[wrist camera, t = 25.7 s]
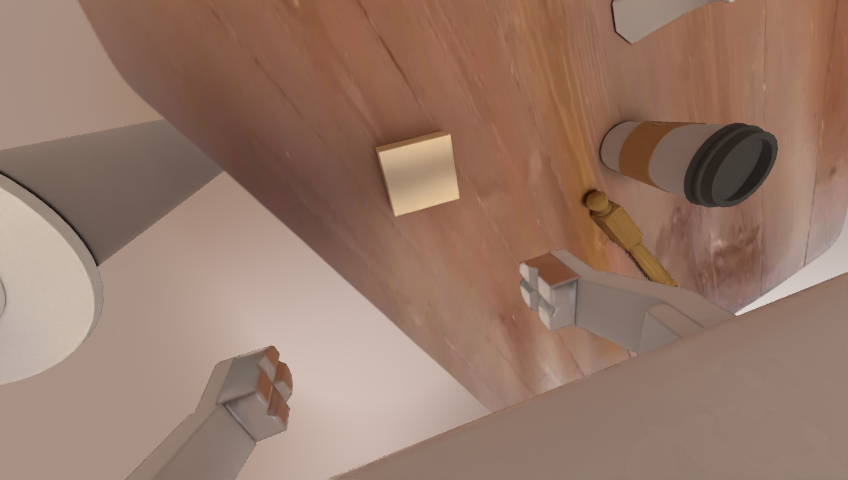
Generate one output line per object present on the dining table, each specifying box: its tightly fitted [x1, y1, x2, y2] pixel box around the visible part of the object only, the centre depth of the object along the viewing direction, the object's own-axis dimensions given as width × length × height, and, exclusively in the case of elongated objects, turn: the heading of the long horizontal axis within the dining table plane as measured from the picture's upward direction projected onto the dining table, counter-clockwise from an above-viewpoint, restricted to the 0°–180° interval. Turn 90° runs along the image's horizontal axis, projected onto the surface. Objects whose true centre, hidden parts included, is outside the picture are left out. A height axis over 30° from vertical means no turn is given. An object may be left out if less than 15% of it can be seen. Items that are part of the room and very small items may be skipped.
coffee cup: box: [601, 121, 778, 207], centre depth 36 cm, size 8×8×15 cm
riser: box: [375, 131, 459, 216], centre depth 35 cm, size 8×8×3 cm
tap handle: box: [586, 191, 678, 287], centre depth 50 cm, size 3×3×30 cm
